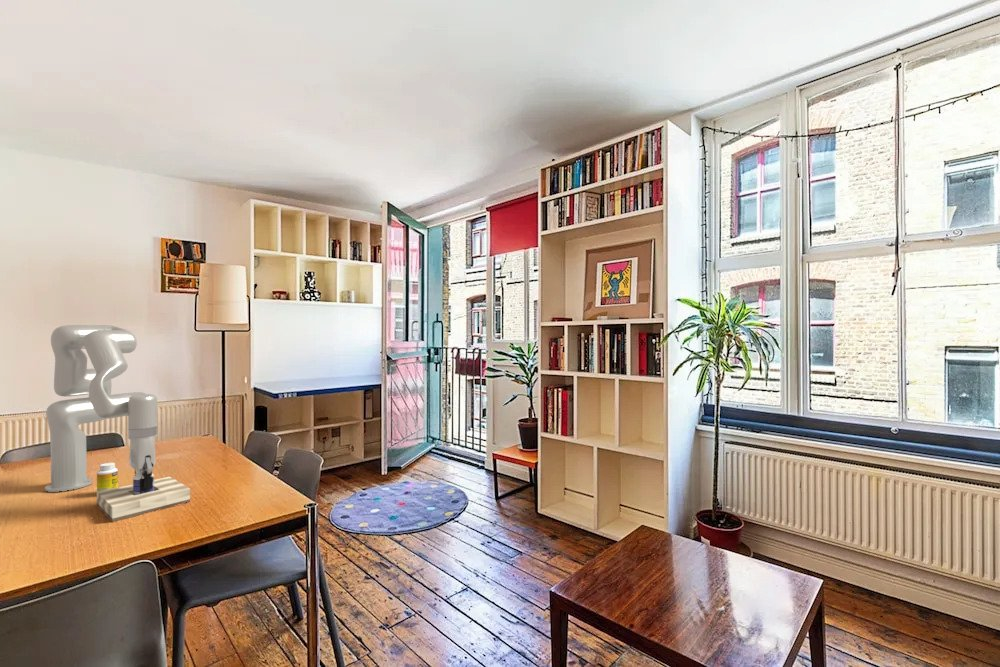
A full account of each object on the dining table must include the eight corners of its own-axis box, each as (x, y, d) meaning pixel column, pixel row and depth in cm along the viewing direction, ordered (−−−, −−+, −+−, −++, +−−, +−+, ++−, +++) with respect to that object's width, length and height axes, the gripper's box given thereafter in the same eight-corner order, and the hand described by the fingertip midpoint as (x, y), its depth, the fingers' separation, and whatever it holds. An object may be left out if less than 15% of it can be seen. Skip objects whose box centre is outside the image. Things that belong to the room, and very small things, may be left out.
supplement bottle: (113, 495, 159) (113, 465, 158) (93, 497, 157) (93, 467, 157) (120, 489, 164) (120, 461, 164) (101, 491, 162) (101, 462, 162)
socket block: (96, 505, 149) (96, 492, 149) (170, 489, 164) (169, 476, 164) (112, 522, 136) (112, 506, 136) (190, 502, 152) (190, 488, 152)
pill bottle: (142, 498, 147) (142, 470, 147) (129, 497, 148) (128, 469, 148) (157, 492, 152) (157, 466, 152) (144, 491, 154) (144, 465, 153)
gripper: (121, 431, 153) (122, 485, 153) (136, 438, 142) (136, 497, 142) (149, 427, 158) (149, 479, 159) (165, 434, 148) (165, 490, 148)
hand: (143, 487), depth 150 cm, fingers closed on pill bottle, 5 cm apart
